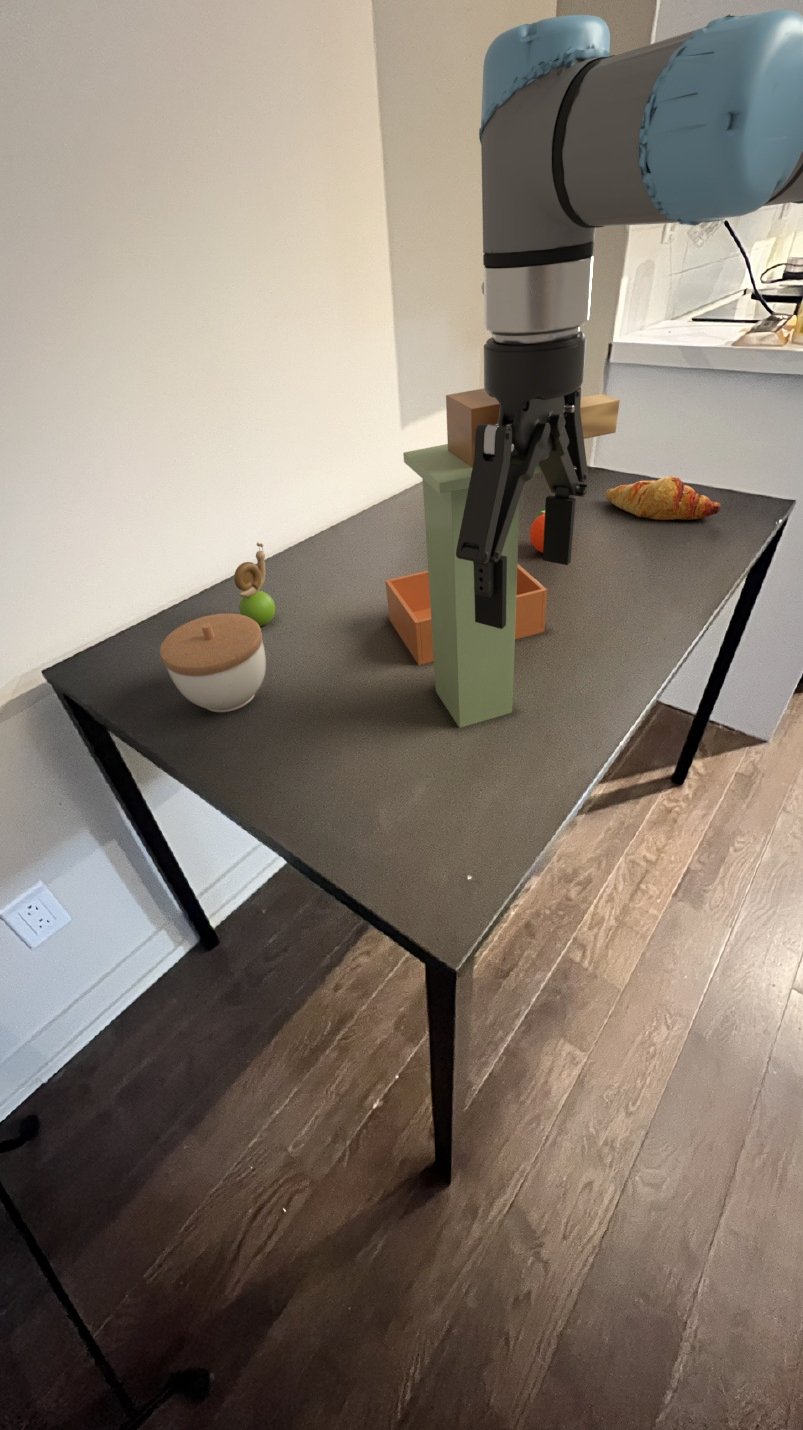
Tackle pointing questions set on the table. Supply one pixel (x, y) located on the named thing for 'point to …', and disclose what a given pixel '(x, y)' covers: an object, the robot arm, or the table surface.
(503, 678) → the shelf stand
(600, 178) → the robot arm
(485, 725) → the table surface
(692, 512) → the croissant
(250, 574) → the snail figurine
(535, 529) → the clementine
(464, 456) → the mallet
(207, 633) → the lidded bowl
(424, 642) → the open box
